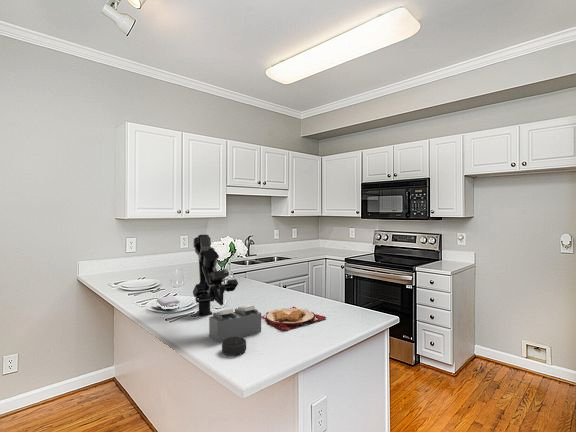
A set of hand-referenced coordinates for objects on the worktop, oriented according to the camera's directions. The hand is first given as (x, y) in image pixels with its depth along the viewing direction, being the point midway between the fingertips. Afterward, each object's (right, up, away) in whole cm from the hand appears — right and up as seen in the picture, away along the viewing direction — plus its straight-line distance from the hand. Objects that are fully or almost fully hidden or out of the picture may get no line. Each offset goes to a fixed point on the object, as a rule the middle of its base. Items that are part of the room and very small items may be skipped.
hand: (222, 304), depth 144 cm
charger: (-34, -12, +36) cm, 51 cm away
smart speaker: (+7, -13, -16) cm, 22 cm away
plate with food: (+28, -13, +22) cm, 37 cm away
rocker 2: (+10, -2, +4) cm, 11 cm away
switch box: (+5, -12, +1) cm, 14 cm away
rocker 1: (+1, -3, -2) cm, 4 cm away
